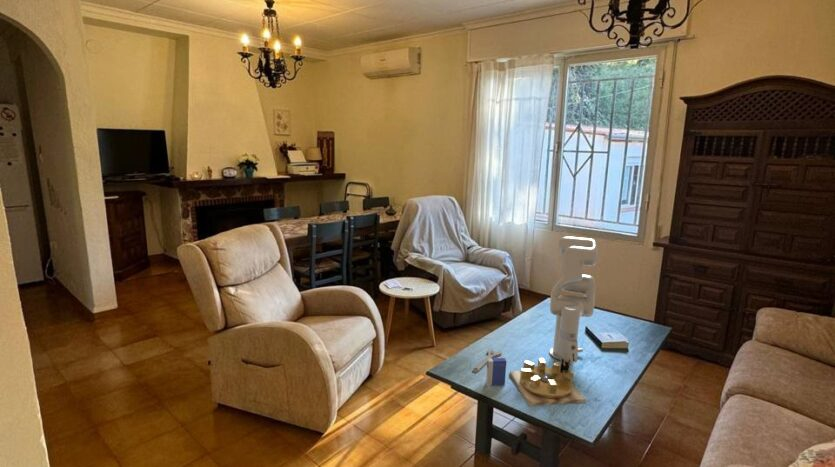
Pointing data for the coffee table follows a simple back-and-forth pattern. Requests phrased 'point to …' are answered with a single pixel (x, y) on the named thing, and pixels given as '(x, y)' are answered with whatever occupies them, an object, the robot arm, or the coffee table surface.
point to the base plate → (536, 400)
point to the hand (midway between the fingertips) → (564, 372)
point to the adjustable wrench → (486, 360)
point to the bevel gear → (546, 380)
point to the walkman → (496, 371)
